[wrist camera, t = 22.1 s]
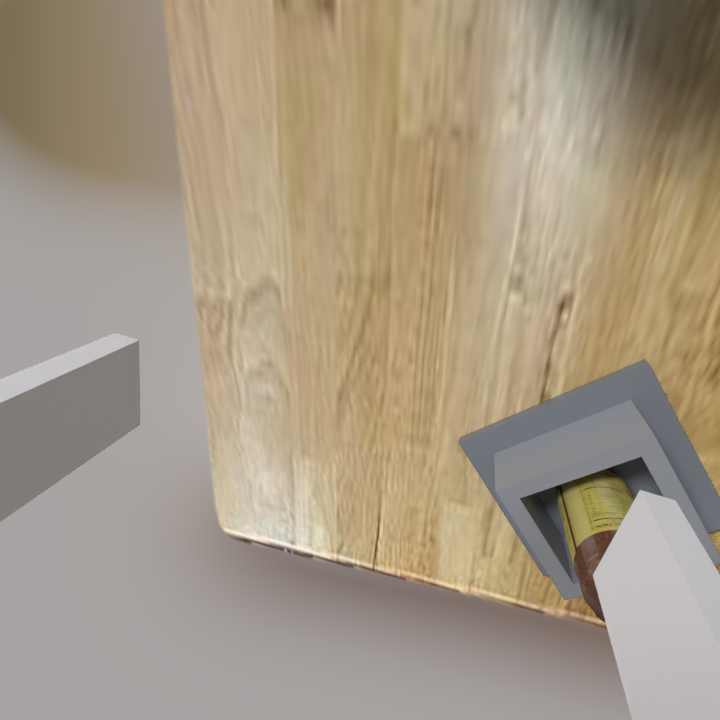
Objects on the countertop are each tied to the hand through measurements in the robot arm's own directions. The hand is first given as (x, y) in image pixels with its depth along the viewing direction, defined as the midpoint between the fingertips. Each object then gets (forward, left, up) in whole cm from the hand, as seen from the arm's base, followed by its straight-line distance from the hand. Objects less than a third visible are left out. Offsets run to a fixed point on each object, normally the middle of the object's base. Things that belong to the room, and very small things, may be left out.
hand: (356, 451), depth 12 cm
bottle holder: (+25, +1, -32) cm, 40 cm away
